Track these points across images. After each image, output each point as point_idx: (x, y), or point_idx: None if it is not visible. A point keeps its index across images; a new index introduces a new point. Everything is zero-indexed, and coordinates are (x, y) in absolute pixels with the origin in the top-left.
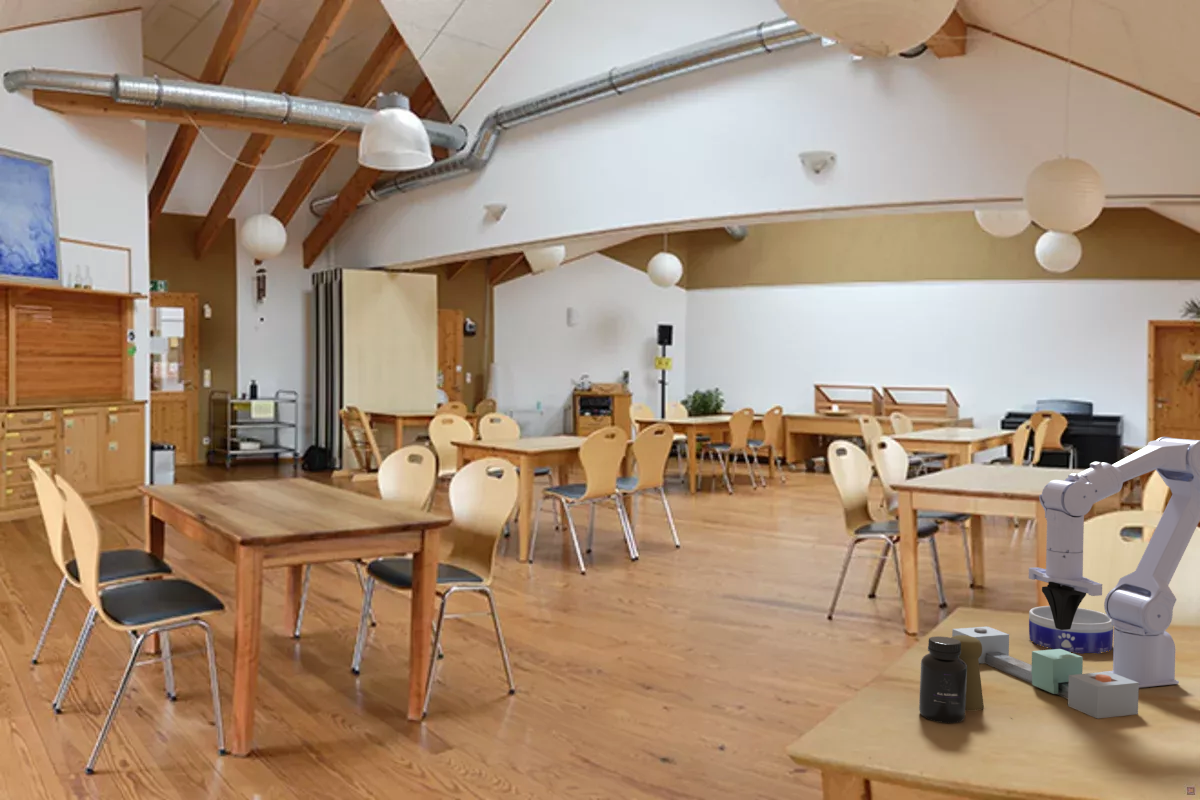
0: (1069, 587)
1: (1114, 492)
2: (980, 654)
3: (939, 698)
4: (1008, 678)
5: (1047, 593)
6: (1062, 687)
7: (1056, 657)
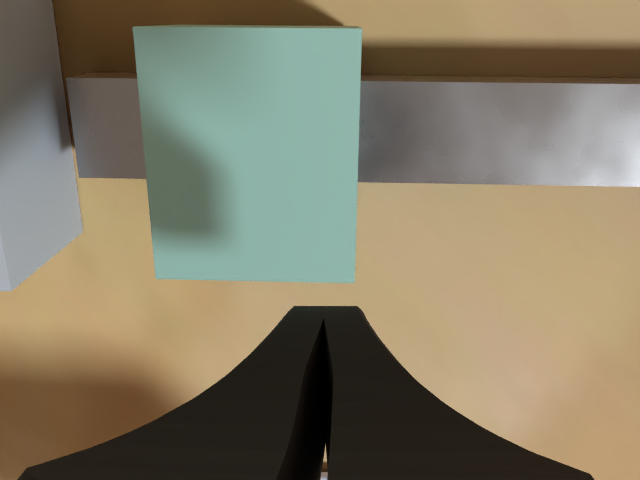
0: None
1: None
2: None
3: None
4: (524, 13)
5: (432, 462)
6: None
7: (176, 92)
